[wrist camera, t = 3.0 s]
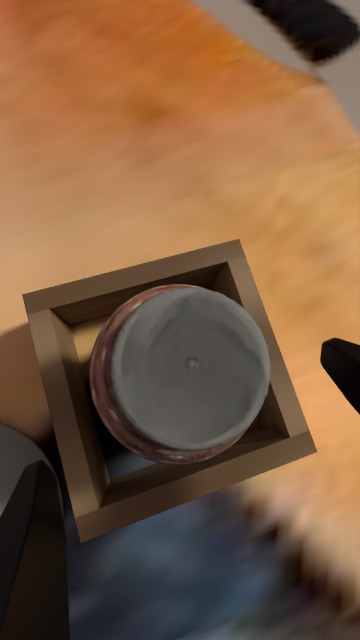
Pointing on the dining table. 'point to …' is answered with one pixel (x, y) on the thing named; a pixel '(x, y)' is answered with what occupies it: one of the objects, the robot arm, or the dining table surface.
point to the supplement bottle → (179, 373)
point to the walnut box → (76, 414)
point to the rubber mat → (18, 461)
